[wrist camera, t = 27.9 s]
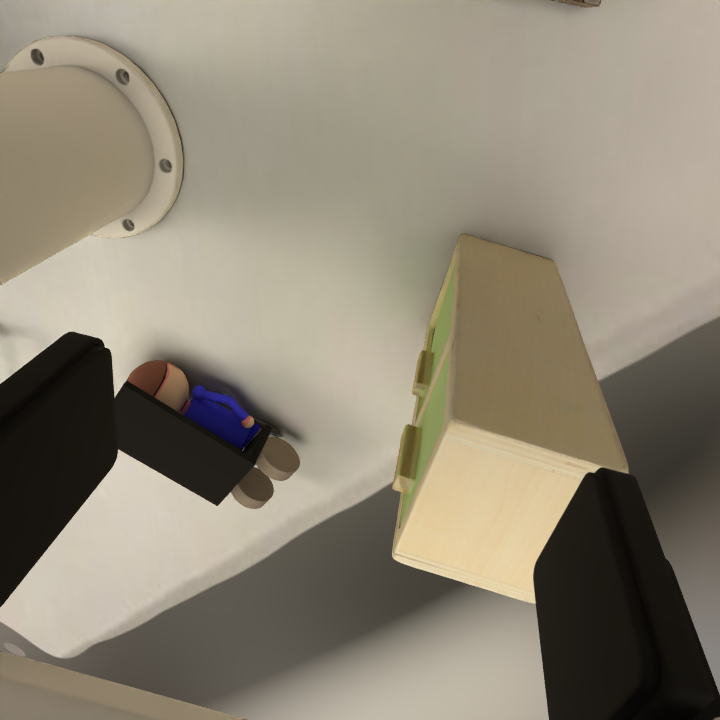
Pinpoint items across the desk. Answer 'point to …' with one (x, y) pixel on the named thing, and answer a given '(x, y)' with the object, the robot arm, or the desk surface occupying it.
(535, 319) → the toy refrigerator
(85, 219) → the robot arm
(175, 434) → the figurine character
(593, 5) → the brown wooden tray
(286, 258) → the desk surface
